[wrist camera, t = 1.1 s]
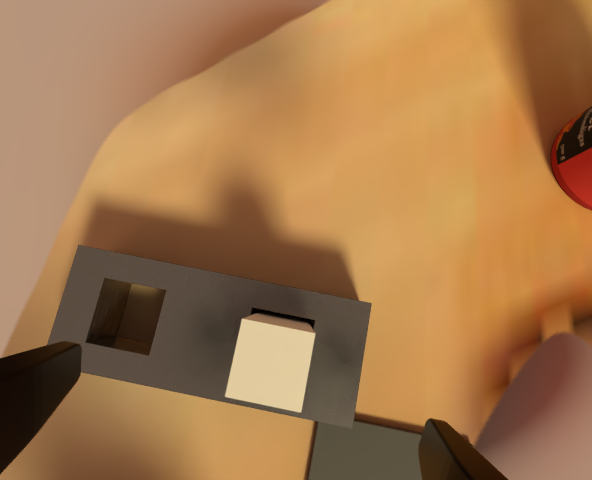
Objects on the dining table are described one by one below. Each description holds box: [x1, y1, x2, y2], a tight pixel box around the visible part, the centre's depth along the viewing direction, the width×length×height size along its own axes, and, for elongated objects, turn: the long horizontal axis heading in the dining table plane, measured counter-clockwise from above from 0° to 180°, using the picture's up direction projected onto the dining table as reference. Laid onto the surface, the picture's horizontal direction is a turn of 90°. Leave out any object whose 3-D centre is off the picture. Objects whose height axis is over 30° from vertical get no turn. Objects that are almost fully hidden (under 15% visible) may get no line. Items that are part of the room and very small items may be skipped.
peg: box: [225, 311, 315, 413], centre depth 18 cm, size 3×3×9 cm
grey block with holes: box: [47, 245, 372, 429], centre depth 21 cm, size 7×18×4 cm, turn 79°
